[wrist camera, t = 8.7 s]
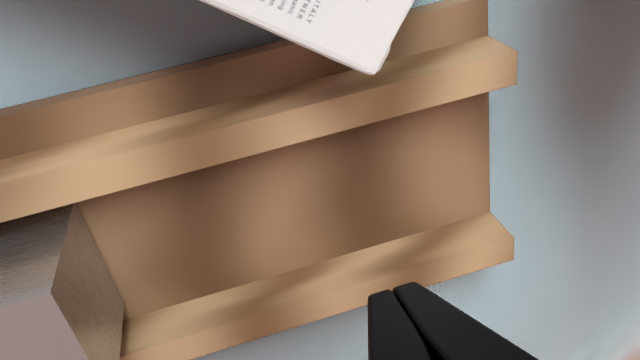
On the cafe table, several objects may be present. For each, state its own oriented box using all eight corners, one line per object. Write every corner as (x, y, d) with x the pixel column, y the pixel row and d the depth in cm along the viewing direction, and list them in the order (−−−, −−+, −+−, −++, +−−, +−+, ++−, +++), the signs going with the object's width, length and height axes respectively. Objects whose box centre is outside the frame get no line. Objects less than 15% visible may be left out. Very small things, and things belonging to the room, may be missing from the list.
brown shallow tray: (476, -8, 20) (535, 16, 17) (481, 246, 27) (525, 299, 23) (-196, 157, 18) (-276, 222, 14) (-13, 397, 24) (-41, 480, 21)
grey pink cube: (74, 200, 20) (50, 292, 15) (124, 302, 22) (115, 405, 18) (-74, 239, 19) (-142, 347, 15) (-5, 340, 22) (-45, 456, 17)
